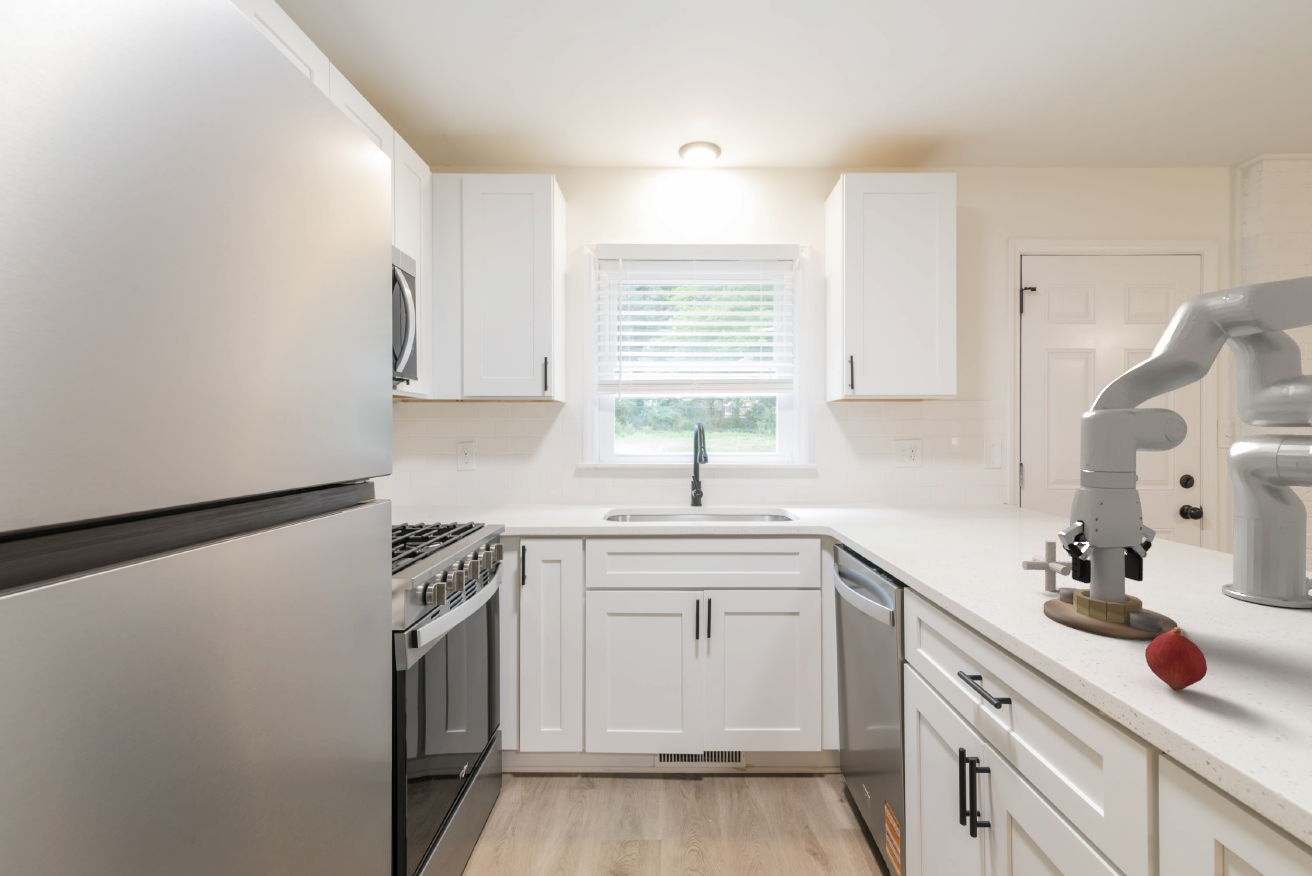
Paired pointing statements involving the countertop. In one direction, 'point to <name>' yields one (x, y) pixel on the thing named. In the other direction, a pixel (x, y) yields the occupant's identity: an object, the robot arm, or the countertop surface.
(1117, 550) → the beverage can
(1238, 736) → the countertop surface
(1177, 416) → the robot arm
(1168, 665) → the onion
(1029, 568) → the pipe connector
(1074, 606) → the carrier
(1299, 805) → the countertop surface
